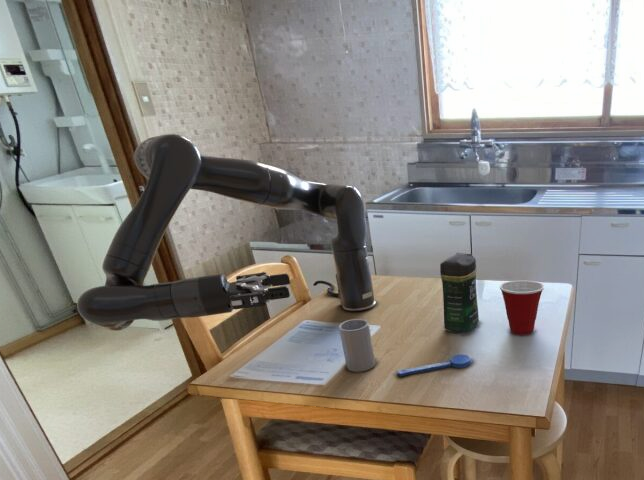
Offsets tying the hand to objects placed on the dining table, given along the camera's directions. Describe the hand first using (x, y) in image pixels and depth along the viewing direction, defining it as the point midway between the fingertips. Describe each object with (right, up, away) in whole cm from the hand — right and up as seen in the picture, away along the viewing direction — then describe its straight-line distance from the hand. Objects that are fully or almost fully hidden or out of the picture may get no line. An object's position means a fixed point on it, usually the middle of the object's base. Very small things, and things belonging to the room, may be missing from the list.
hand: (289, 284), depth 105 cm
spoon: (+29, -16, +10) cm, 35 cm away
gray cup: (+12, -16, +13) cm, 24 cm away
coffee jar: (+34, -6, +29) cm, 45 cm away
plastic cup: (+49, -7, +25) cm, 56 cm away
